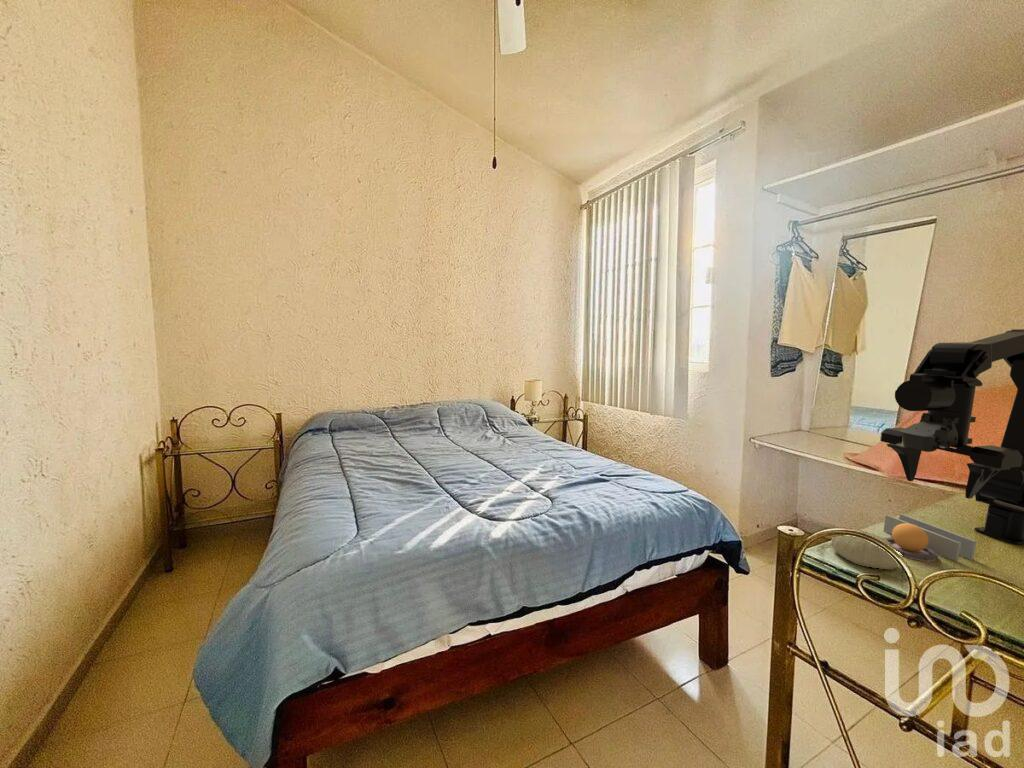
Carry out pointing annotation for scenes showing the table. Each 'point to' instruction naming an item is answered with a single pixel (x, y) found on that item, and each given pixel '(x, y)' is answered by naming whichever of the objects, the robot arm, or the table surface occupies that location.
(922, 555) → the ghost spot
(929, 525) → the acrylic walls
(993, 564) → the table surface
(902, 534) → the ball
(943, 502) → the table surface
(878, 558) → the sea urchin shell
